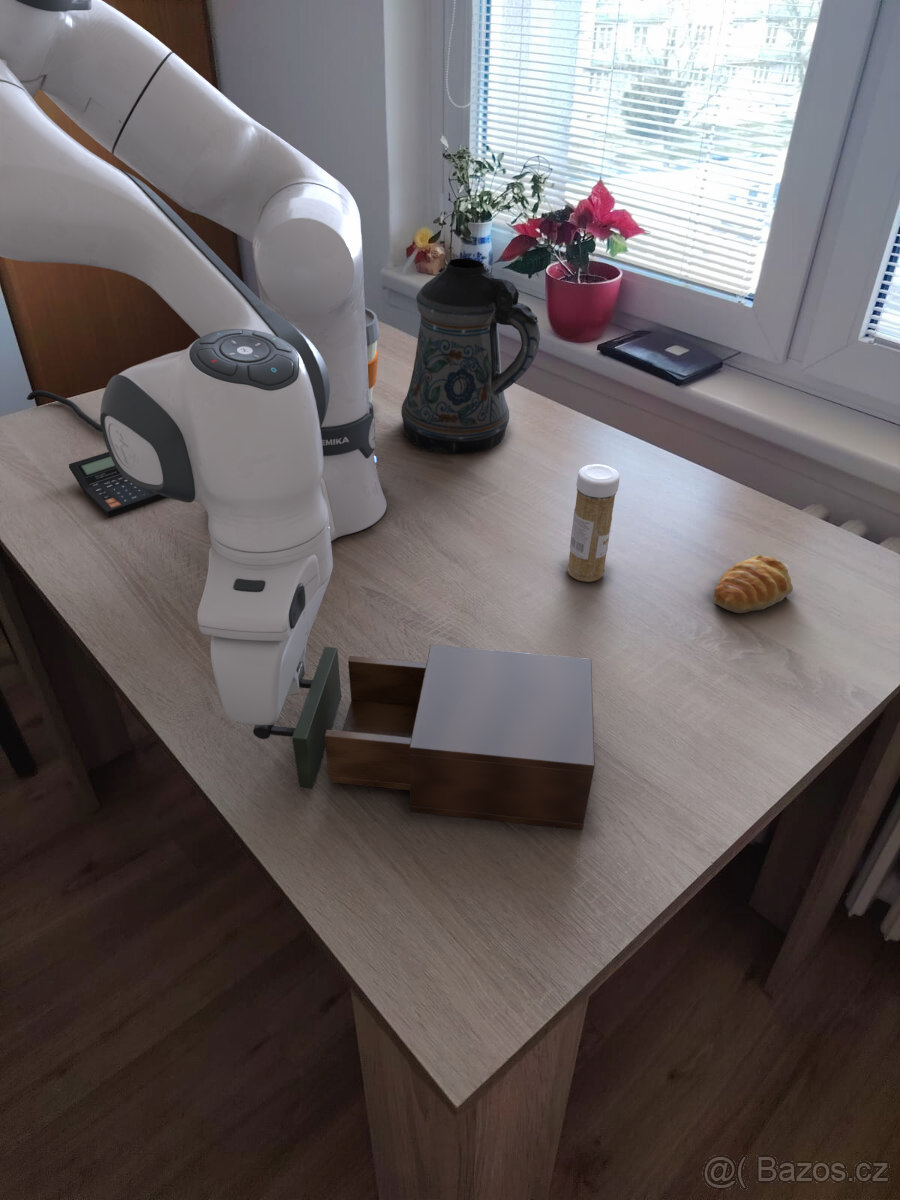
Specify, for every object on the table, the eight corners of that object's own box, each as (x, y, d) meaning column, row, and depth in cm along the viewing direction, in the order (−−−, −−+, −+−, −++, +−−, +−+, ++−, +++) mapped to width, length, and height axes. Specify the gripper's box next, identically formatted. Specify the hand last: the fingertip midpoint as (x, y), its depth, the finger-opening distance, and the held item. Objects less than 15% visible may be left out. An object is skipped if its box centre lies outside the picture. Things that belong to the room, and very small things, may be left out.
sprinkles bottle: (610, 580, 97) (626, 480, 89) (573, 585, 96) (586, 484, 88) (596, 559, 101) (610, 460, 92) (560, 563, 100) (572, 464, 91)
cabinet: (410, 812, 70) (409, 747, 65) (430, 707, 80) (430, 644, 75) (582, 830, 69) (594, 765, 64) (581, 721, 79) (591, 658, 74)
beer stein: (400, 408, 133) (397, 245, 118) (520, 407, 134) (532, 245, 119) (402, 456, 120) (398, 280, 105) (534, 455, 121) (550, 281, 106)
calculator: (108, 517, 106) (103, 497, 104) (73, 482, 113) (67, 462, 111) (176, 493, 111) (172, 473, 109) (138, 461, 118) (133, 442, 116)
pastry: (745, 627, 91) (753, 599, 88) (696, 598, 95) (702, 571, 92) (794, 595, 95) (803, 568, 93) (744, 569, 100) (752, 542, 97)
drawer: (251, 783, 71) (241, 732, 67) (286, 691, 80) (279, 642, 76) (454, 804, 70) (456, 754, 66) (468, 708, 79) (470, 659, 75)
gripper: (270, 481, 71) (287, 606, 80) (186, 632, 55) (219, 769, 64) (342, 485, 71) (352, 611, 79) (278, 640, 55) (299, 776, 63)
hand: (292, 683), depth 72 cm, fingers closed
